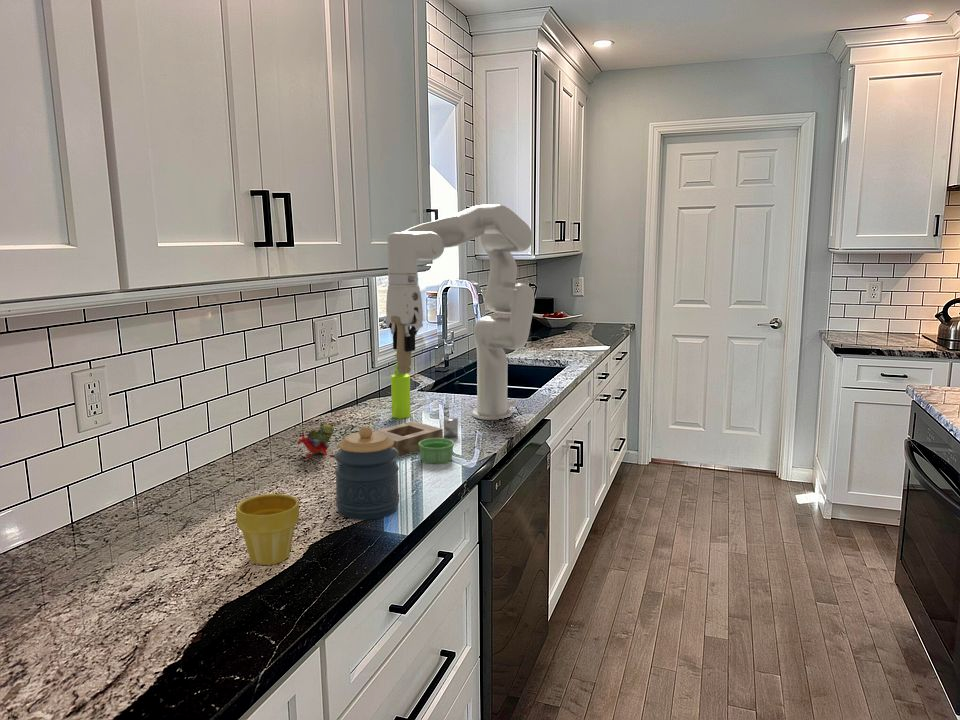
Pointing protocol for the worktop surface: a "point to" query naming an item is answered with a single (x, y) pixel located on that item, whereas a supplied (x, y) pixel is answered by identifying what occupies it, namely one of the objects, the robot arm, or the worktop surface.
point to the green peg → (400, 394)
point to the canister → (366, 475)
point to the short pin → (450, 428)
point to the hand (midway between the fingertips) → (404, 349)
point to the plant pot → (268, 526)
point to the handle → (402, 347)
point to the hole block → (410, 435)
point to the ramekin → (436, 450)
